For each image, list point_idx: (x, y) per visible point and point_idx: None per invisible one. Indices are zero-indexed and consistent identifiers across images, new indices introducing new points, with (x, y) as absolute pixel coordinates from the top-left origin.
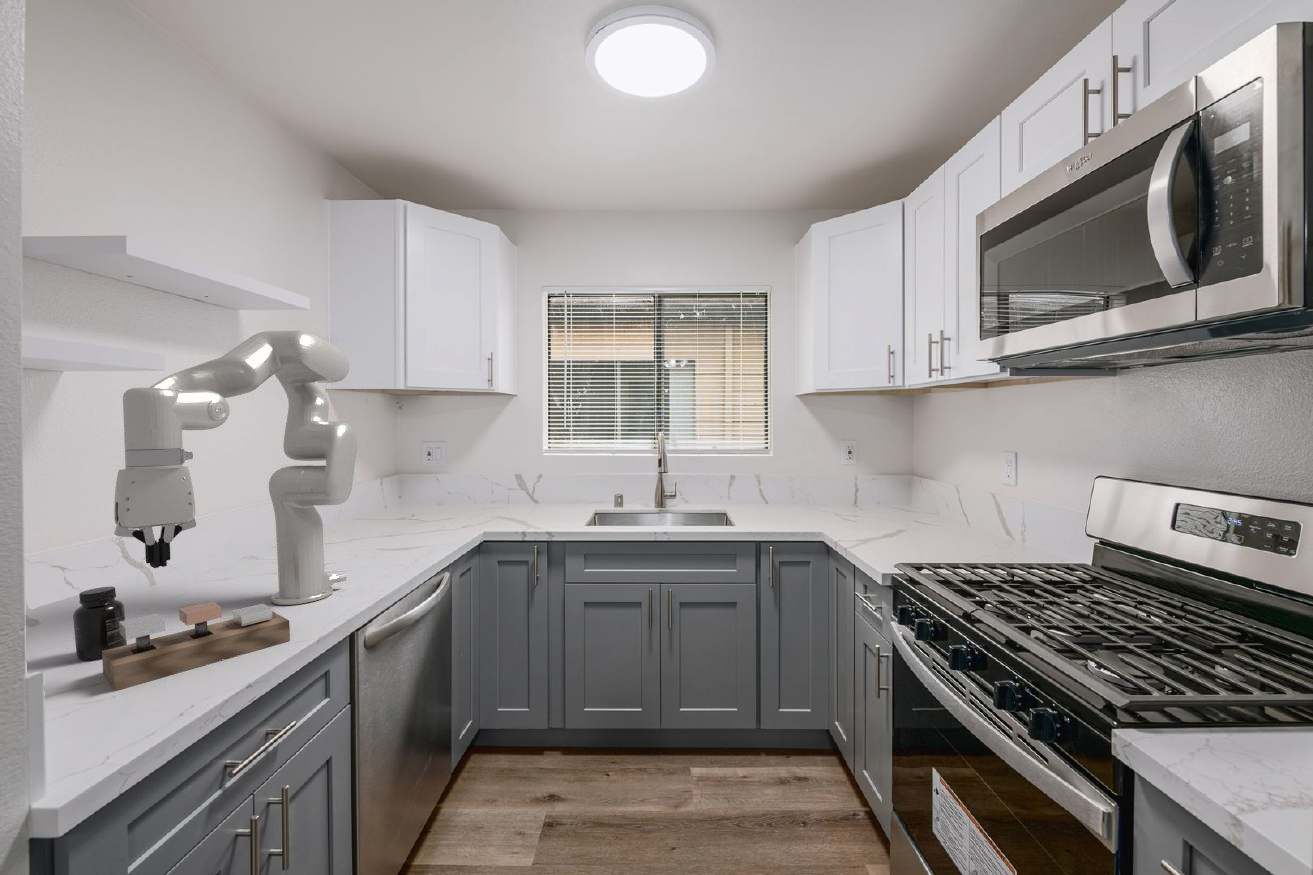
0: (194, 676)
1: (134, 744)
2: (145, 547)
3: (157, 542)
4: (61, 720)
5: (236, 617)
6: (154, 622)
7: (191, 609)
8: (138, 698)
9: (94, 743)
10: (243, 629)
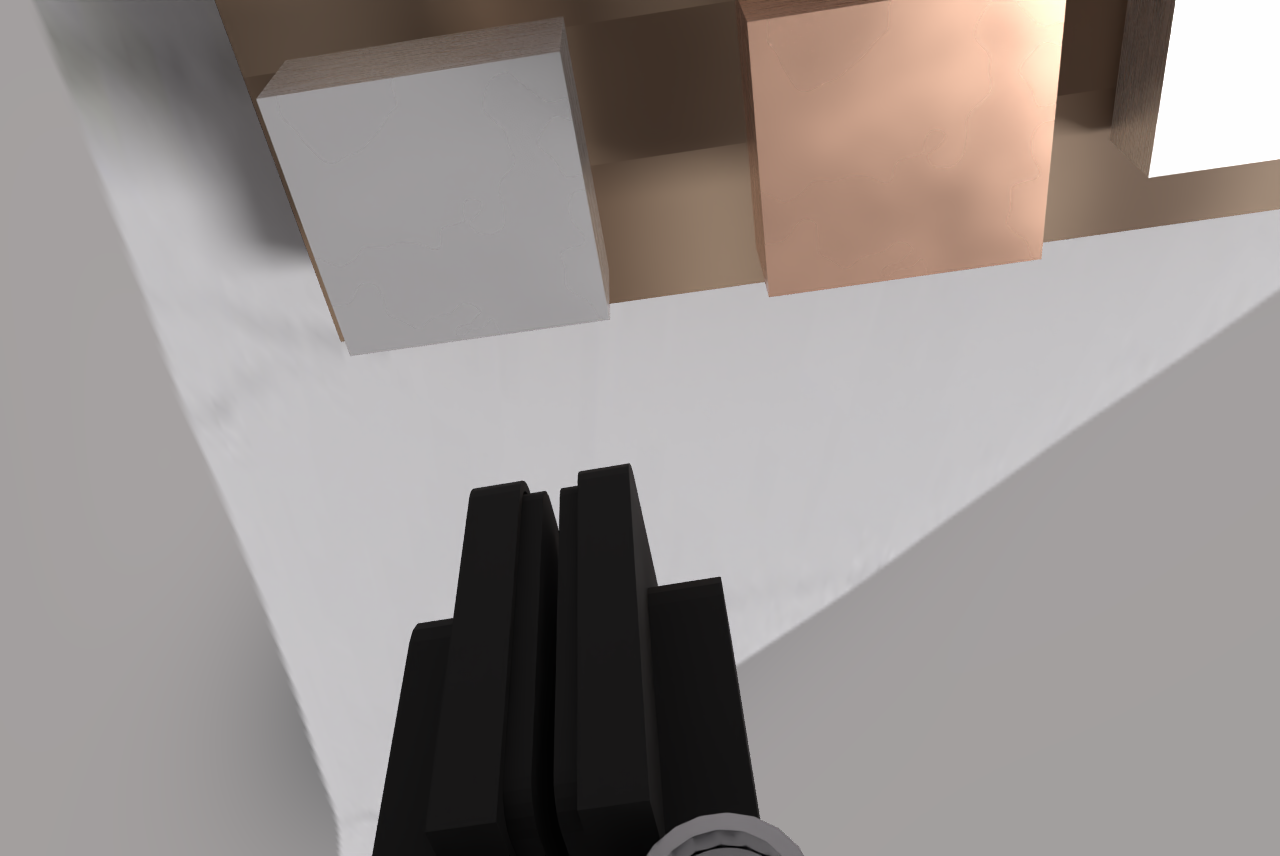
0: (718, 338)
1: None
2: (382, 853)
3: (583, 812)
4: (219, 459)
5: (1150, 14)
6: (540, 322)
7: (831, 158)
8: (484, 436)
9: (388, 701)
10: (1099, 163)
